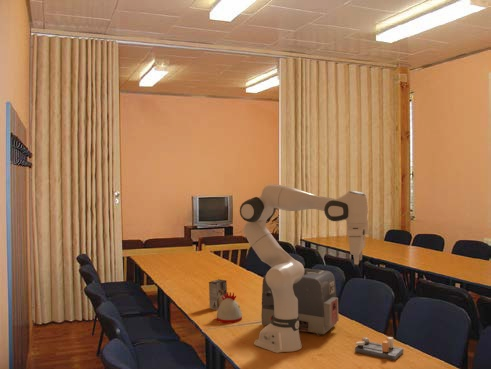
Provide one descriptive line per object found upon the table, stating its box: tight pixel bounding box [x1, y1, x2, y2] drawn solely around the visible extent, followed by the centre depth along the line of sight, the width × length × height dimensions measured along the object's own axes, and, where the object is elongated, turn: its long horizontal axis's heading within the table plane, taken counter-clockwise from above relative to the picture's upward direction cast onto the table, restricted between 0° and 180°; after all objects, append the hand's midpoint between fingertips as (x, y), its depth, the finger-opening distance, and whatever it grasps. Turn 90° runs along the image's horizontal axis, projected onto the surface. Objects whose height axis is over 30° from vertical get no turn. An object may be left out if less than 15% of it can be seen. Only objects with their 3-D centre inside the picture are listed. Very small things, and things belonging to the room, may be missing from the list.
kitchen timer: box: [216, 291, 243, 324], centre depth 274 cm, size 14×14×15 cm
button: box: [362, 336, 370, 343], centre depth 229 cm, size 3×3×2 cm
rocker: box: [354, 340, 365, 346], centre depth 224 cm, size 4×2×1 cm, turn 54°
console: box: [354, 341, 404, 361], centre depth 222 cm, size 18×11×3 cm, turn 54°
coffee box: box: [208, 279, 228, 311], centre depth 297 cm, size 9×6×16 cm
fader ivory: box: [386, 336, 394, 348], centre depth 222 cm, size 2×2×4 cm
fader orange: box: [381, 340, 389, 352], centre depth 217 cm, size 2×2×4 cm
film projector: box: [261, 268, 340, 337], centre depth 258 cm, size 39×29×30 cm
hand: (358, 262), depth 212 cm, fingers open, 8 cm apart
